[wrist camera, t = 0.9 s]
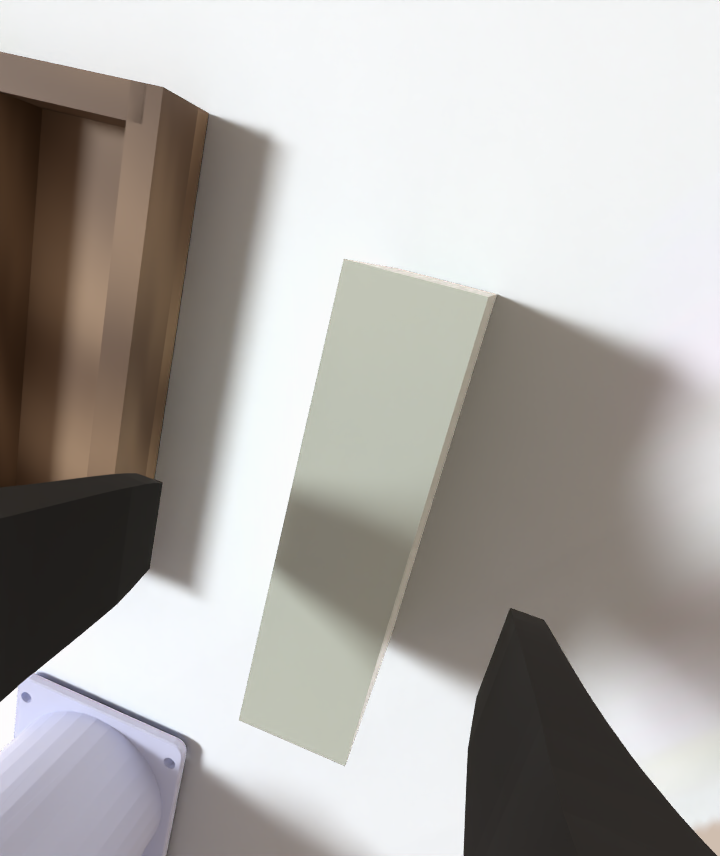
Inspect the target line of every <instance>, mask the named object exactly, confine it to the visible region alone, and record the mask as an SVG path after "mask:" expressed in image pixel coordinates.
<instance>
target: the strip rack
mask: <svg viewBox="0 0 720 856" xmlns="http://www.w3.org/2000/svg"><path fill="white" fill-rule="evenodd" d="M208 115H209V113H207V112H206V111H204V110H202V109H200V108H199V107H197V106H195V105H193V104H192V103H190V102H188V101H186V100H185V99H183V98H181V97H179V96H178V95H176V94H174V93H172V92H171V91H169V90H167V89H165V88H164V87H160V86H155V85H151V84H146V83H141V82H137V81H132V80H128V79H123V78H118V77H114V76H109V75H105V74H100V73H95V72H91V71H86V70H82V69H77V68H72V67H68V66H63V65H59V64H54V63H49V62H45V61H40V60H36V59H31V58H26V57H22V56H17V55H13V54H8V53H3V52H0V487H9V486H18V485H28V484H36V483H44V482H52V481H60V480H67V479H75V478H83V477H91V476H99V475H109V474H122V473H137V474H140V475H143V476H146V477H149V478H151V479H154V478H155V471H156V464H157V457H158V451H159V444H160V437H161V431H162V424H163V417H164V410H165V404H166V397H167V390H168V383H169V377H170V370H171V363H172V357H173V350H174V343H175V336H176V330H177V323H178V316H179V310H180V303H181V296H182V289H183V283H184V276H185V269H186V263H187V256H188V249H189V242H190V236H191V229H192V222H193V216H194V209H195V202H196V195H197V189H198V182H199V175H200V169H201V162H202V155H203V148H204V142H205V135H206V128H207V122H208Z"/></svg>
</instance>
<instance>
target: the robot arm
mask: <svg viewBox="0 0 720 856" xmlns="http://www.w3.org/2000/svg"><path fill="white" fill-rule="evenodd" d="M161 489H162V482H160V481H157V480H154V479H151V478H149V477H146V476H143V475H140V474H137V473H122V474H109V475H99V476H91V477H83V478H75V479H67V480H60V481H52V482H44V483H36V484H28V485H18V486H9V487H0V702H1V701H2V700H3V699H4V698H5V697H6V696H7V695H9V694H10V693H11V692H12V691H13V690H14V689H15V688H16V687H18V694H17V706H16V718H15V731H14V739H13V740H12V741H11V742H10V743H9V744H8V745H7V746H5V747H4V748H3V749H2V750H1V751H0V856H166V855H167V850H168V844H169V839H170V834H171V829H172V824H173V819H174V814H175V809H176V804H177V799H178V794H179V789H180V784H181V779H182V774H183V769H184V763H185V758H186V753H187V748H186V746H185V743H184V742H183V741H182V740H180V739H179V738H177V737H175V736H173V735H170V734H168V733H166V732H164V731H161V730H159V729H157V728H155V727H153V726H150V725H148V724H146V723H144V722H141V721H139V720H137V719H135V718H132V717H130V716H128V715H126V714H124V713H121V712H119V711H117V710H115V709H112V708H110V707H108V706H106V705H104V704H101V703H99V702H97V701H95V700H92V699H90V698H88V697H86V696H83V695H81V694H79V693H77V692H75V691H72V690H70V689H68V688H66V687H63V686H61V685H59V684H57V683H55V682H52V681H50V680H48V679H46V678H43V677H41V676H39V675H37V674H34V672H36V671H37V670H38V669H39V668H40V667H42V666H43V665H44V664H45V663H47V662H48V661H49V660H50V659H51V658H53V657H54V656H55V655H56V654H58V653H59V652H60V651H61V650H62V649H64V648H65V647H66V646H67V645H69V644H70V643H71V642H72V641H74V640H75V639H76V638H77V637H78V636H80V635H81V634H82V633H83V632H85V631H86V630H87V629H88V628H89V627H91V626H92V625H93V624H94V623H95V622H97V621H98V620H99V619H100V618H101V617H103V616H104V615H105V614H106V613H107V612H108V611H110V610H111V609H112V608H113V607H114V606H115V605H117V604H118V602H119V601H120V600H121V599H122V598H123V597H124V596H125V595H126V594H127V593H128V592H129V591H130V590H131V589H132V588H133V587H134V586H135V584H136V583H137V582H138V581H139V580H140V579H141V578H142V576H143V575H144V574H145V573H146V572H147V571H148V570H149V568H150V561H151V555H152V548H153V542H154V535H155V529H156V522H157V515H158V509H159V502H160V496H161ZM464 856H717V855H716V854H715V853H714V852H713V851H712V850H711V849H710V848H709V847H708V846H707V845H706V844H705V843H704V842H703V840H702V839H701V838H700V837H699V836H698V835H697V834H696V833H695V832H694V831H693V830H692V828H691V827H690V826H689V825H688V824H687V823H686V822H685V821H684V819H683V818H682V817H681V816H680V815H679V814H678V813H677V812H676V810H675V809H674V808H673V807H672V806H671V804H670V803H669V802H668V801H667V800H666V798H665V797H664V796H663V795H662V793H661V792H660V791H659V790H658V789H657V787H656V786H655V785H654V784H653V783H652V781H651V780H650V779H649V778H648V777H647V775H646V774H645V773H644V772H643V770H642V769H641V768H640V767H639V765H638V764H637V763H636V761H635V760H634V759H633V757H632V756H631V755H630V753H629V752H628V751H627V749H626V748H625V747H624V745H623V744H622V742H621V741H620V740H619V738H618V737H617V735H616V734H615V733H614V731H613V730H612V728H611V727H610V726H609V724H608V723H607V721H606V720H605V718H604V717H603V715H602V714H601V712H600V711H599V709H598V708H597V706H596V705H595V703H594V702H593V700H592V699H591V697H590V696H589V694H588V693H587V691H586V689H585V688H584V686H583V685H582V683H581V681H580V680H579V678H578V676H577V675H576V673H575V672H574V670H573V668H572V667H571V665H570V663H569V661H568V660H567V658H566V656H565V655H564V653H563V651H562V650H561V648H560V646H559V644H558V643H557V641H556V639H555V637H554V636H553V634H552V632H551V631H550V629H549V627H548V626H547V624H546V623H545V621H544V620H542V619H540V618H537V617H534V616H531V615H528V614H526V613H523V612H520V611H517V610H515V609H512V608H510V610H509V613H508V615H507V618H506V621H505V623H504V626H503V629H502V631H501V634H500V636H499V639H498V642H497V644H496V647H495V650H494V652H493V655H492V658H491V660H490V663H489V666H488V668H487V671H486V674H485V676H484V679H483V682H482V684H481V687H480V690H479V692H478V695H477V697H476V703H475V709H474V715H473V721H472V727H471V733H470V740H469V746H468V759H467V781H466V805H465V831H464Z"/></svg>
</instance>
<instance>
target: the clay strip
mask: <svg viewBox="0 0 720 856" xmlns="http://www.w3.org/2000/svg"><path fill="white" fill-rule="evenodd" d="M496 296H497V294H494V293H490V292H487V291H483V290H479V289H475V288H471V287H467V286H464V285H460V284H456V283H452V282H448V281H444V280H441V279H437V278H433V277H429V276H425V275H421V274H417V273H414V272H410V271H406V270H402V269H398V268H392V267H387V266H381V265H375V264H370V263H364V262H358V261H353V260H347V259H344V260H343V265H342V269H341V273H340V278H339V282H338V287H337V291H336V295H335V300H334V304H333V309H332V313H331V317H330V322H329V326H328V331H327V335H326V339H325V344H324V348H323V353H322V357H321V361H320V366H319V370H318V375H317V379H316V383H315V388H314V392H313V397H312V401H311V405H310V410H309V414H308V418H307V423H306V427H305V432H304V436H303V440H302V445H301V449H300V454H299V458H298V462H297V467H296V471H295V476H294V480H293V484H292V489H291V493H290V498H289V502H288V506H287V511H286V515H285V520H284V524H283V528H282V533H281V537H280V541H279V546H278V550H277V555H276V559H275V563H274V568H273V572H272V577H271V581H270V585H269V590H268V594H267V599H266V603H265V607H264V612H263V616H262V621H261V625H260V629H259V634H258V638H257V643H256V647H255V651H254V656H253V660H252V664H251V669H250V673H249V678H248V682H247V686H246V691H245V695H244V700H243V704H242V708H241V713H240V717H239V720H240V721H242V722H244V723H247V724H249V725H251V726H253V727H256V728H258V729H260V730H263V731H265V732H267V733H270V734H272V735H274V736H277V737H279V738H281V739H283V740H286V741H288V742H290V743H293V744H295V745H297V746H300V747H302V748H304V749H307V750H309V751H311V752H313V753H316V754H318V755H320V756H323V757H325V758H327V759H330V760H332V761H334V762H337V763H339V764H341V765H343V766H345V765H346V762H347V759H348V756H349V754H350V751H351V748H352V745H353V742H354V740H355V737H356V734H357V731H358V728H359V726H360V723H361V720H362V717H363V714H364V711H365V709H366V706H367V703H368V700H369V697H370V695H371V692H372V689H373V686H374V683H375V680H376V678H377V675H378V672H379V669H380V666H381V664H382V661H383V658H384V655H385V652H386V649H387V647H388V644H389V641H390V638H391V635H392V632H393V629H394V626H395V623H396V619H397V616H398V613H399V610H400V606H401V603H402V600H403V597H404V593H405V590H406V587H407V584H408V581H409V577H410V574H411V571H412V568H413V564H414V561H415V558H416V555H417V551H418V548H419V545H420V542H421V539H422V535H423V532H424V529H425V526H426V522H427V519H428V516H429V513H430V510H431V506H432V503H433V500H434V497H435V493H436V490H437V487H438V484H439V480H440V477H441V474H442V471H443V468H444V464H445V461H446V458H447V455H448V451H449V448H450V445H451V442H452V438H453V435H454V432H455V429H456V426H457V422H458V419H459V416H460V413H461V409H462V406H463V403H464V400H465V396H466V393H467V390H468V387H469V384H470V380H471V377H472V374H473V371H474V367H475V364H476V361H477V358H478V355H479V351H480V348H481V345H482V342H483V338H484V335H485V332H486V329H487V325H488V322H489V319H490V316H491V313H492V309H493V306H494V303H495V300H496Z"/></svg>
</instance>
